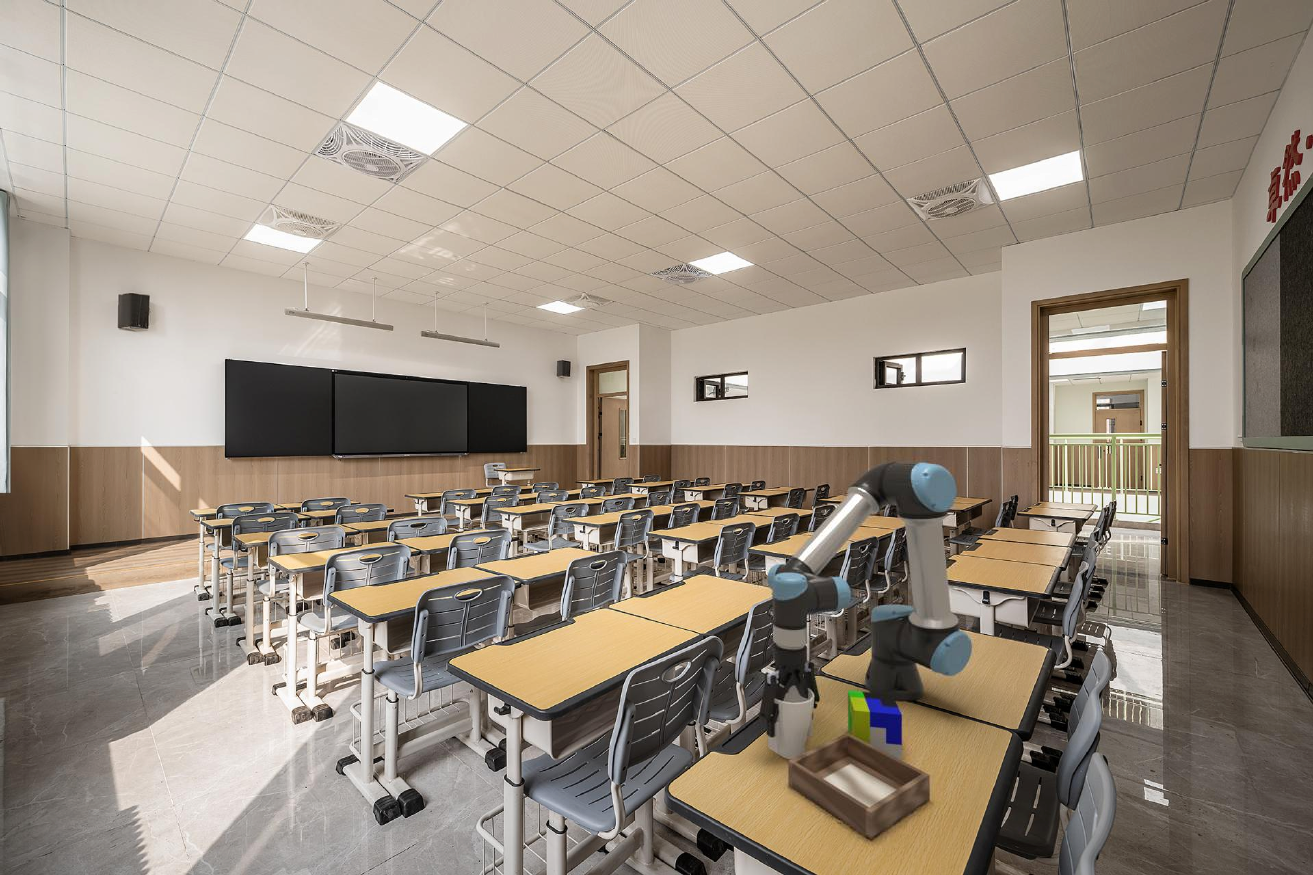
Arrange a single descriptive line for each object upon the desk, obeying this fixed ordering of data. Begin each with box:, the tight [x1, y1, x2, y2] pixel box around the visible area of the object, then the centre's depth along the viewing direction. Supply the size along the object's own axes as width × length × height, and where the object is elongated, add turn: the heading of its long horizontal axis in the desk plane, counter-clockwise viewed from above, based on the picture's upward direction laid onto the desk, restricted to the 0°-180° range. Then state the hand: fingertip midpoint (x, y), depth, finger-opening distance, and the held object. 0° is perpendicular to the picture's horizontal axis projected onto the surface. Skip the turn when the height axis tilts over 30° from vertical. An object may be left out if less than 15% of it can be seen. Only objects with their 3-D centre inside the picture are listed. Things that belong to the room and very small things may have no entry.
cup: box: [772, 684, 814, 760], centre depth 125 cm, size 10×10×14 cm
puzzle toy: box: [847, 690, 903, 761], centre depth 128 cm, size 10×10×10 cm
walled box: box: [787, 732, 931, 842], centre depth 111 cm, size 19×19×5 cm
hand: (790, 742), depth 125 cm, fingers closed on cup, 10 cm apart
